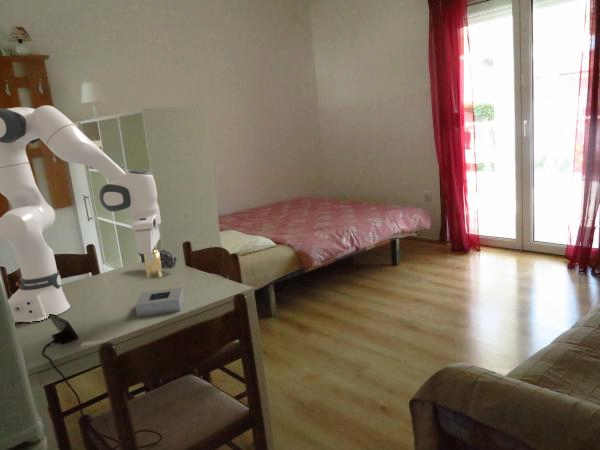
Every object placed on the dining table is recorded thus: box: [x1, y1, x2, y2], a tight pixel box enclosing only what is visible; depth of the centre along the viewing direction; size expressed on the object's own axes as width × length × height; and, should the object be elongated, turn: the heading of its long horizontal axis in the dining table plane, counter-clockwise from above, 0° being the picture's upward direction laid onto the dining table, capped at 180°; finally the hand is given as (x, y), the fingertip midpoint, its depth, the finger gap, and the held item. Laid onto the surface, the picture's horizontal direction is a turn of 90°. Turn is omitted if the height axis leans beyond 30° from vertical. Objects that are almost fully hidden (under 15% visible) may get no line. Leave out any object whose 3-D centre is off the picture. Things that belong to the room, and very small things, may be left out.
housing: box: [134, 287, 185, 318], centre depth 162 cm, size 14×12×5 cm
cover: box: [144, 248, 163, 279], centre depth 159 cm, size 5×5×9 cm
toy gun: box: [138, 248, 178, 270], centre depth 208 cm, size 3×24×10 cm, turn 55°
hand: (152, 259), depth 158 cm, fingers closed on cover, 5 cm apart
